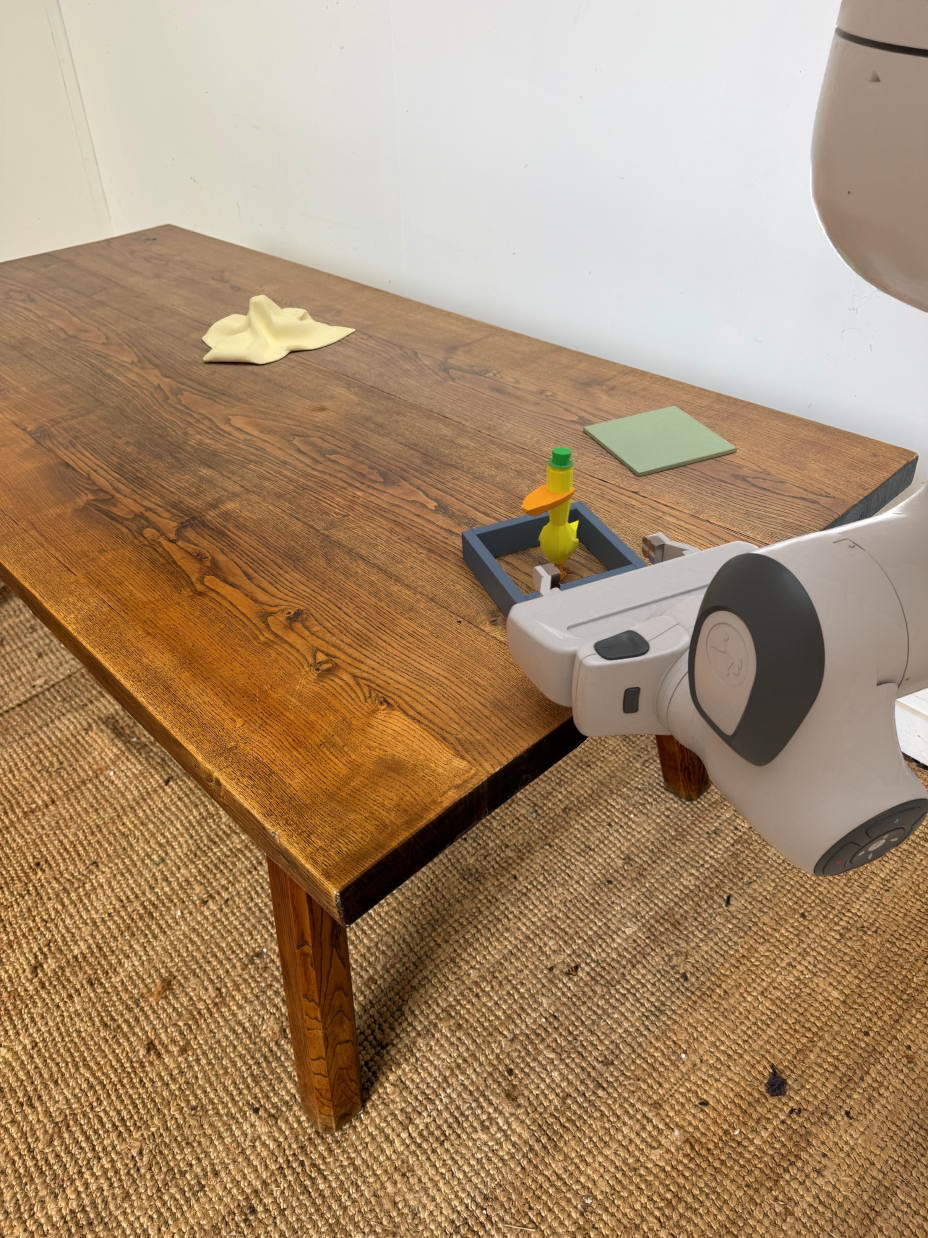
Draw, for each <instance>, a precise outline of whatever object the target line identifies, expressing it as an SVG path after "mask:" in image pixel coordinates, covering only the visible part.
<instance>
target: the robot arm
mask: <svg viewBox="0 0 928 1238" xmlns="http://www.w3.org/2000/svg"><path fill="white" fill-rule="evenodd" d="M813 121H814V122H813V128H812V135H811V141H810V154H809V155H810V156H809V191H810V201H811V204H812V207H813V211H814V213H815V216H816V218H817V221H818V223H819V225H820V227H821V229H822V231H823V234H824V235H825V238H826V239H827V242H829V244H830V246H831V247H832V249H833V250H834V252H835V253H836V254H837V256H838V257H839V258H840V260H841V261H842V262H843V263H844V264H845V265H846V266H847V267H848V268H849V269H850V270H851V271H852V272H853V273H854V274H855V275H856V276H857V277H859V279H861V280H862V281H863V282H865V284H867V285H869V286H871V288H874V289H875V290H877V291H879V292H880V293H882V294H884V295H886V296H887V297H889V298H892V299H894V300H896V301H897V302H900V303H902V304H905V306H908V307H911V308H913V309H915V310H917V311H920V312H922V313H924V314H927V315H928V0H841V2H840V5H839V9H838V15H837V19H836V27H835V28H834V33H833V37H832V39H831V44H830V48H829V52H828V57H827V61H826V65H825V70H824V74H823V79H822V82H821V87H820V91H819V95H818V100H817V105H816V110H815V116H814V120H813ZM641 542H642V543H643V544H642V545H641V554H642V556H643V557H644V558H645V559H648V562H650V563H651V565H648V566H647V567H644V568H640V569H637V570H633V571H630V572H626V573H623V574H619V575H616V576H612V577H609V578H605V579H602V580H598V581H595V582H591V583H588V584H584V585H581V586H578V587H574V588H571V589H567V590H564V591H560V585H561V583H560V582H561V581H562V580H561V572H560V571H559V570H558V569H559V568H558V567H557V566H556V567H557V568H558V569H557V568H556V567H554V564H553V563H551V562H548V563H543V564H539V565H535V566H533V567H532V583H533V586H534V588H535V589H536V590H537V591H539V592H540V597H539V598H536V599H532V600H529V601H525V602H521V603H518V604H515V605H514V606H512V608H511V610H510V612H509V615H508V618H506V631H505V632H506V644H507V645H506V646H507V649H508V653H509V654H510V656H511V658H512V659H513V660H514V662H515V664H516V665H517V666H518V667H519V669H520V670H521V671H522V672H523V674H524V675H525V676H526V677H527V679H529V681H530V682H531V683H532V684H533V685H534V686H535V687H536V688H537V689H538V690H539V692H541V693H542V694H543V696H544V697H546V698H547V699H549V700H550V701H551V702H553V703H555V704H557V705H559V706H563V707H566V708H571V711H572V718H573V719H572V720H573V723H574V725H575V728H576V729H577V730H578V732H580V734H582V735H583V736H585V737H590V738H600V737H612V736H613V737H614V736H625V735H627V736H628V735H629V736H630V735H653V736H655V735H657V736H672V737H673V738H674V739H675V740H676V741H677V742H678V743H679V744H680V745H682V746H683V747H685V748H686V749H688V750H689V751H691V752H693V753H694V754H695V755H697V757H698V758H699V759H700V760H701V762H702V764H703V765H704V768H705V771H706V774H707V776H708V777H709V779H710V781H711V783H712V784H713V785H714V787H715V788H716V789H717V790H718V791H719V793H720V794H721V795H722V797H724V798H725V800H726V801H727V802H728V803H729V804H730V805H731V806H732V808H733V809H734V810H735V811H736V812H737V813H738V814H739V816H741V818H743V820H745V821H746V823H747V824H748V825H749V826H750V827H751V828H752V829H753V830H754V831H755V832H756V833H757V834H758V835H759V836H760V837H761V838H762V839H763V840H764V841H765V842H766V843H767V844H769V846H771V847H772V848H773V849H774V850H775V851H776V852H777V853H779V854H780V855H781V856H782V857H784V858H785V859H786V860H787V861H789V862H790V863H791V864H793V865H795V866H796V867H797V868H799V869H800V870H802V871H804V872H806V873H807V874H809V875H813V876H815V877H834V876H838V875H842V874H845V873H848V872H850V871H854V870H855V869H858V868H861V867H863V866H865V865H868V864H870V863H872V862H874V861H876V860H879V859H880V858H883V857H884V856H885V855H886V854H887V853H889V852H890V851H892V850H893V849H895V848H898V847H899V846H901V845H902V844H903V843H905V841H907V840H908V839H909V838H910V837H911V836H912V835H913V834H914V833H915V832H916V831H917V830H918V829H919V828H920V827H921V825H923V823H924V822H925V820H926V818H927V815H928V790H927V788H926V787H925V786H924V784H923V783H922V781H921V780H920V779H919V777H918V776H917V775H916V773H915V772H914V771H913V769H912V768H911V767H910V766H909V765H908V764H907V762H906V760H905V757H904V754H903V751H902V748H901V745H900V741H899V735H898V730H897V722H896V700H898V699H902V698H905V697H907V696H909V695H912V694H915V693H918V692H921V691H924V690H927V689H928V480H927V481H926V482H925V483H924V484H923V485H922V486H921V487H920V488H919V489H918V490H917V491H915V492H914V493H913V494H912V495H910V497H908V498H907V499H904V500H903V501H902V502H900V503H899V504H897V505H895V506H894V507H892V508H889V509H888V510H886V511H884V512H881V513H879V514H877V515H874V516H871V517H866V518H864V519H859V520H855V521H852V522H850V523H849V522H848V523H845V524H841V525H839V526H835V527H832V528H827V529H824V530H821V531H814V532H810V533H809V532H808V533H805V534H802V535H801V534H800V535H798V536H794V537H791V538H788V539H784V540H781V541H776V542H774V543H771V544H767V545H764V546H760V547H759V546H757V545H756V544H753V543H751V542H747V541H742V540H734V541H731V542H727V543H724V544H720V545H717V546H713V547H710V548H706V549H702V550H701V549H700V548H699V547H697V546H694V545H689V544H687V543H683V542H679V541H675V540H671V539H670V538H668V537H667V536H666V535H665V534H664V533H663V532H661V531H658V532H656V533H652V534H650V535H645V536H643V537H642V541H641ZM560 580H561V581H560Z"/></svg>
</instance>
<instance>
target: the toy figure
mask: <svg viewBox="0 0 928 1238" xmlns="http://www.w3.org/2000/svg"><path fill="white" fill-rule="evenodd" d="M572 454H573V451H572V450H571V449H570V448H569V447H563V446H559V447H553V449H552V450H551V455H552V457H551V458H548V459H547V462H546V463H547V466H546V483H544V484H542V485H540V486H539V487H537V488H536V489H535V490H532V491H531V492H530V493H528V494H527V496H525V498H524V499H523V501H522V504H521V506H520V508H521V509H522V511H523V513H524V515H531V516H534V517H536V516H538V515H540V514H543V513H545V512H547V511H548V512H549V519H550V522H549V523H548V524H547V525H546V526H544V527H543V529H542V531H541V533H540V536H539V539H538V541H540V545H539V547H540V550H541V552H542V553H543V555H544V556H545V557H546V558H547V559H548V561H549V563H553V564H554V567H556V568H557V569H558V570H559V571H560V572H561V580H560V581H559V582H561V581H562V580H563V579H564V578H565V577H566V576H567V571H565V570H564V564H565V563H566V562H567V561H568V560H569V559H570V557H571V556H572V555H573V554H574V553H575V552H576V551H577V550H578V549H579V542H580V540H579V539H578V538H577V537H576V530H577V526H578V522H579V520H578V521H575V522H573V523H570V524H569V523H568V516H569V510H570V504H571V503H572V499H573V498H572V497H573V495H574V494H575V493H576V491H577V487H575V486H574V485H573V484H574V483H573V482H574V465H575V463H574V461H573V460H572V459H571V456H572ZM555 564H556V565H558V567H557V566H555Z"/></svg>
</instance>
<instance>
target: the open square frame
mask: <svg viewBox="0 0 928 1238" xmlns="http://www.w3.org/2000/svg"><path fill="white" fill-rule="evenodd" d="M578 520H579V522H578V526H577V530H576V539H579V542H581V543H582V544H583V545H584V547H586V548H587V549H588V550H589V551H590V553H592V554H593V555H594V557H596V559H598V561H600V563H601V564H602V565H603V566H604V567H605V568H606V569H607V571H604V572H600V573H597V574H593V575H590V576H586V577H583V578H580V579H579V578H578V579H575V580H572V581H569V582H566V583H560V591H564V590H567V589H571V588H574V587H578V586H581V585H584V584H588V583H591V582H595V581H598V580H602V579H605V578H609V577H612V576H616V575H619V574H623V573H626V572H630V571H633V570H637V569H640V568H644V567H647V566H649V565H648V564H647V563H646V562H645V561H644V560H643V559H642V558H641V557H640V556H639V555H638V554H637V553H636V552H635V551H634V550H633V549H632V548H630V546H628V545H627V544H626V543H625V541H623V540H622V538H620V537H619V536H618V535H617V534H616V533H615V532H614V531H613V530H612V529H611V528H610V527H609V526H608V525H606V523H604V522H603V521H602V520H601V518H599V516H597V515H596V514H595V513H594V512H593V511H592V510H591V509H590V508H589V507H588V506H587V505H586V504H585V503H584V502H583V501H582V500H579V501H578V500H577V501H575V502H571V504H570V510H569V516H568V523H569V524H570V523H573V522H575V521H578ZM549 522H550V519H549V512H548V511H547V512H545V513H543V514H540V515H538V516H536V517H534V516H531V515H528V514H524V515H521V516H517V517H513V518H510V519H505V520H501V521H498V522H497V521H496V522H494V523H490V524H485V525H482V526H478V527H474V528H472V529H467V530H463V531H461V532H460V533H461V549H462V551H461V552H462V560H463V561H464V563H465V564H466V566H467V567H468V569H469V570H470V571H471V572H472V574H473V575H474V577H475V578H476V579H477V580H478V582H479V583H480V584H481V586H482V588H484V590H485V591H486V593H487V594H488V595H489V597H490V598H491V600H492V601H493V602H494V603H495V605H496V607H498V609H499V610H500V611H501V613H502V614H503V615H504V617H505V618H506V619H507V618H508V615H509V612H510V610H511V608H512V606H514V605H515V604H518V603H521V602H525V601H529V600H532V599H536V598H539V597H540V592H539V591H538V590H537V591H533V592H530V593H526V594H524V593H523V592H522V591H521V589H519V586H517V585H516V583H515V582H514V580H513V579H512V578H511V576H509V575H508V573H507V572H506V571H505V569H504V568H503V567H502V566H501V565H500V563H499V562H498V561H497V559H496V558H497V557H501V556H505V555H508V554H512V553H515V552H520V551H523V550H527V549H531V548H534V547H538V546H540V541H538V539H539V536H540V533H541V531H542V529H543V527H544V526H546V525H547V524H548V523H549Z"/></svg>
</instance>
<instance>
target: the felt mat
mask: <svg viewBox="0 0 928 1238" xmlns="http://www.w3.org/2000/svg"><path fill="white" fill-rule="evenodd" d="M582 429H583V432H584V433H585V434H587V436H589V437H590V438H591V439H593V440H594V441H595V442H596V443H597V444H599V446H601V447H602V448H603V449H604V450H606V451H607V452H608V453H609V454H610V455H612V456H613V457H614V458H615V459H616V460H617V461H619V463H621V464H622V465H624V466H625V467H626V468H627V469H629V470H630V471H631V472H632V473H633V474H634V475H636V476H637V477H644V476H647V475H652V474H655V473H659V472H663V471H667V470H671V469H675V468H679V467H682V466H687V465H691V464H694V463H698V462H702V461H706V460H710V459H713V458H714V459H715V458H718V457H721V456H722V457H723V456H726V455H729V454H733V453H737V450H738V448H737V446H736V445H734V444H732V443H731V442H729V441H728V440H726V439H725V438H723V437H722V436H720V435H719V434H717V433H716V432H714V431H713V430H712V429H710V428H708V427H707V426H706V425H704V424H703V423H701V422H700V421H698V420H697V419H695V418H694V417H693V416H691V415H689V414H688V413H686V412H685V411H684V410H682V409H681V408H680V407H677V406H676V405H671V406H667V407H663V408H658V409H653V410H650V411H646V412H642V413H637V414H633V415H629V416H625V417H620V418H616V419H612V420H607V421H603V422H602V421H601V422H600V423H599V422H598V423H594V424H591V425H590V424H589V425H586V426H583V427H582Z"/></svg>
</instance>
